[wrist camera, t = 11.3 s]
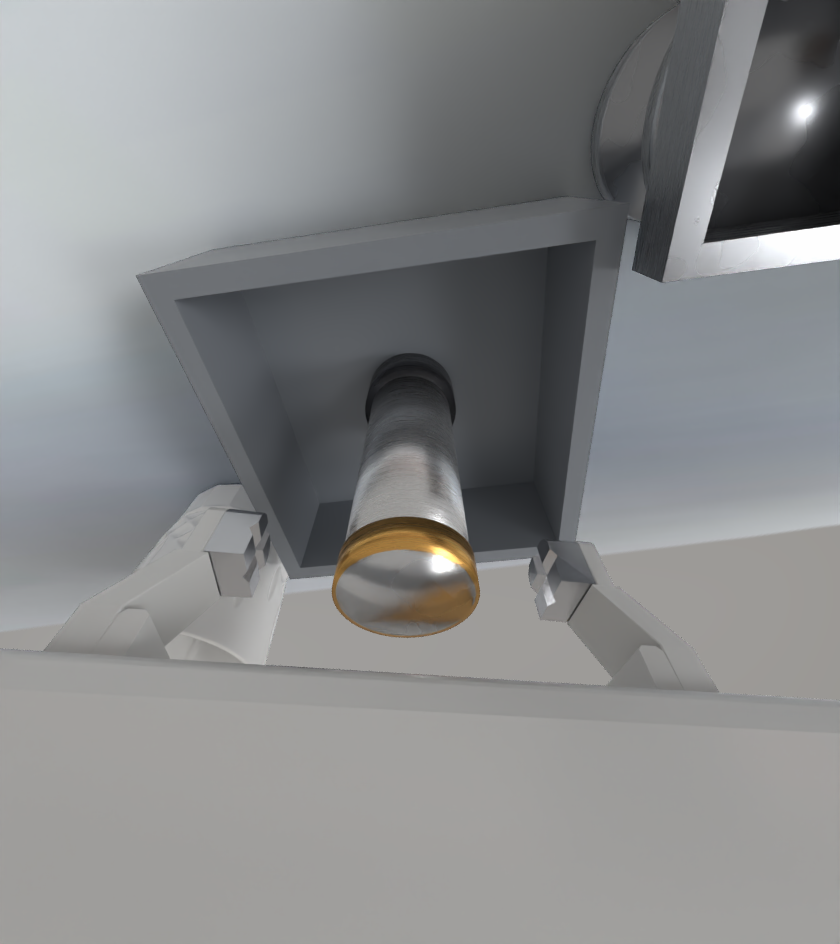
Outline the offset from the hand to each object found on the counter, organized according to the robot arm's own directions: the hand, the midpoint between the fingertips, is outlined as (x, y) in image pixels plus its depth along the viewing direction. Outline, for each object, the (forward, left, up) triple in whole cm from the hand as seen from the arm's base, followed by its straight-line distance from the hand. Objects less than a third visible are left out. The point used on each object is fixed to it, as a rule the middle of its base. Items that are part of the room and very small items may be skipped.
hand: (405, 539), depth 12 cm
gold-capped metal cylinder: (0, 0, -10) cm, 10 cm away
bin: (0, 0, -11) cm, 11 cm away
